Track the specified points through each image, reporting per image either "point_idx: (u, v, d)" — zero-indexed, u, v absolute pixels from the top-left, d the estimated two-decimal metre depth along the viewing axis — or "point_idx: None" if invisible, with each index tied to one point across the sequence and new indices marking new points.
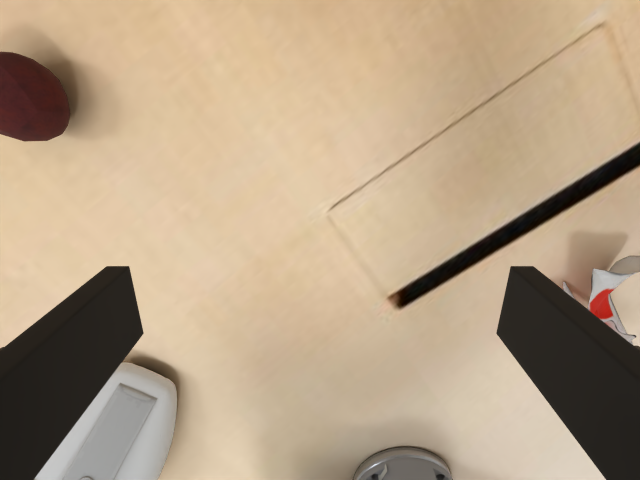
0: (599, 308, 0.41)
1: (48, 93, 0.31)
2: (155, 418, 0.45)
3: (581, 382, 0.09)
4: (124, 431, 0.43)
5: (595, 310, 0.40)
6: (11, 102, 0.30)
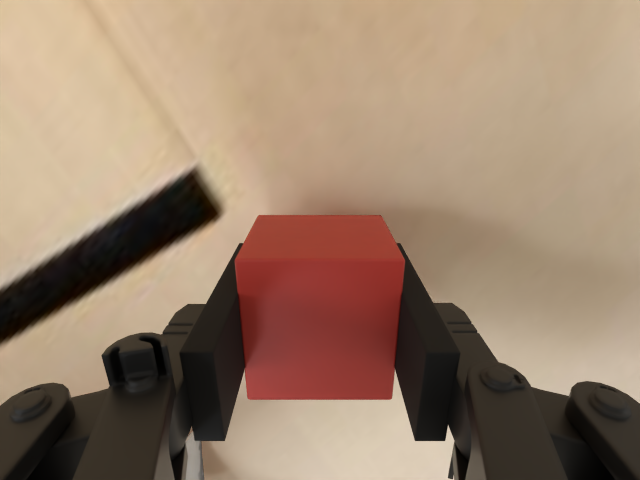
0: None
1: None
2: None
3: (399, 331, 0.11)
4: None
5: None
6: None
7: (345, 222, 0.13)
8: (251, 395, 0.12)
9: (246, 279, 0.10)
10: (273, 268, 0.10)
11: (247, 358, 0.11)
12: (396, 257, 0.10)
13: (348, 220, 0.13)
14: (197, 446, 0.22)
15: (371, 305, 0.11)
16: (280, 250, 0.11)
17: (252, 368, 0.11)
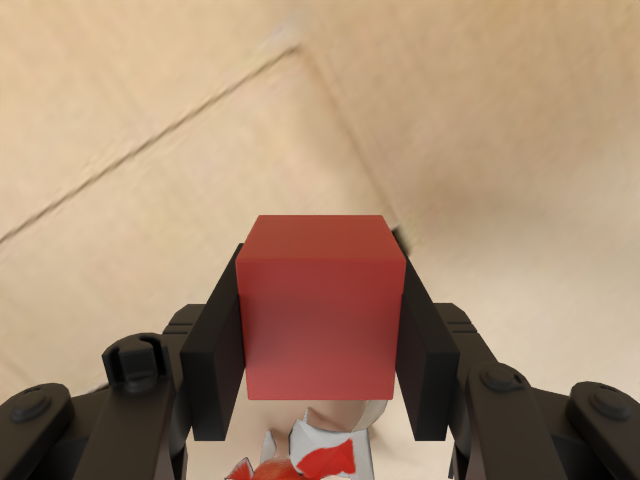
0: (332, 463, 0.28)
1: None
2: None
3: (399, 331, 0.11)
4: None
5: (318, 470, 0.27)
6: None
7: (346, 222, 0.13)
8: (252, 395, 0.12)
9: (247, 279, 0.10)
10: (273, 268, 0.10)
11: (248, 358, 0.11)
12: (397, 257, 0.10)
13: (349, 220, 0.13)
14: None
15: (372, 305, 0.11)
16: (281, 250, 0.11)
17: (253, 368, 0.11)
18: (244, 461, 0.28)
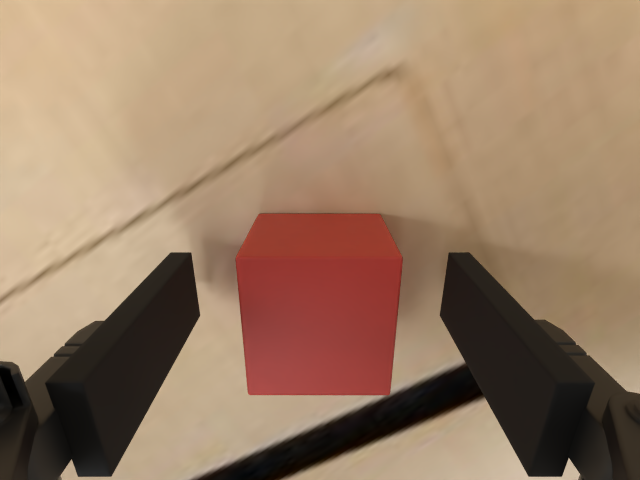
0: None
1: None
2: None
3: (491, 351, 0.10)
4: None
5: None
6: None
7: (344, 221, 0.13)
8: (252, 390, 0.12)
9: (247, 276, 0.10)
10: (273, 265, 0.10)
11: (248, 354, 0.12)
12: (394, 255, 0.10)
13: (347, 218, 0.13)
14: None
15: (369, 302, 0.11)
16: (280, 248, 0.11)
17: (252, 364, 0.12)
18: None
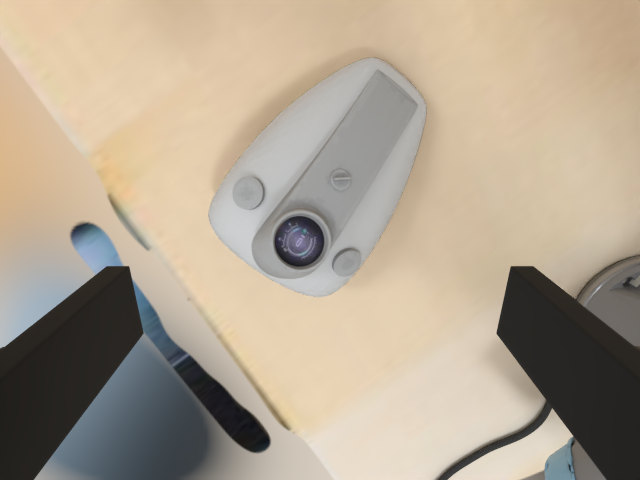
0: None
1: None
2: (413, 131, 0.33)
3: (581, 382, 0.09)
4: (386, 127, 0.31)
5: None
6: None
7: None
8: None
9: None
10: None
11: None
12: None
13: None
14: None
15: None
16: None
17: None
18: None
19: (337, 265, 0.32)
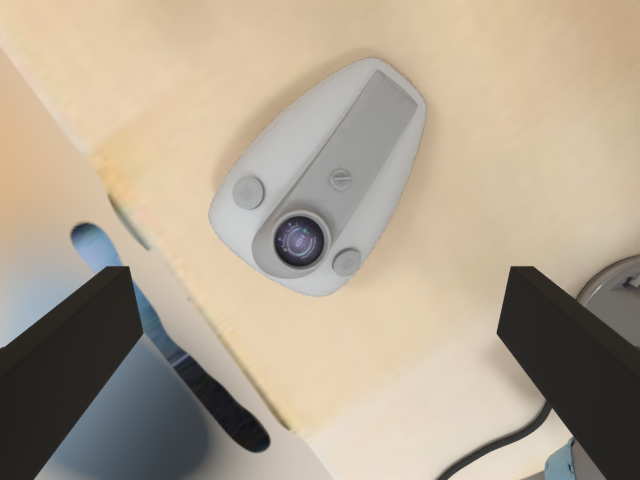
0: None
1: None
2: (413, 131, 0.33)
3: (581, 382, 0.09)
4: (386, 127, 0.31)
5: None
6: None
7: None
8: None
9: None
10: None
11: None
12: None
13: None
14: None
15: None
16: None
17: None
18: None
19: (337, 265, 0.32)
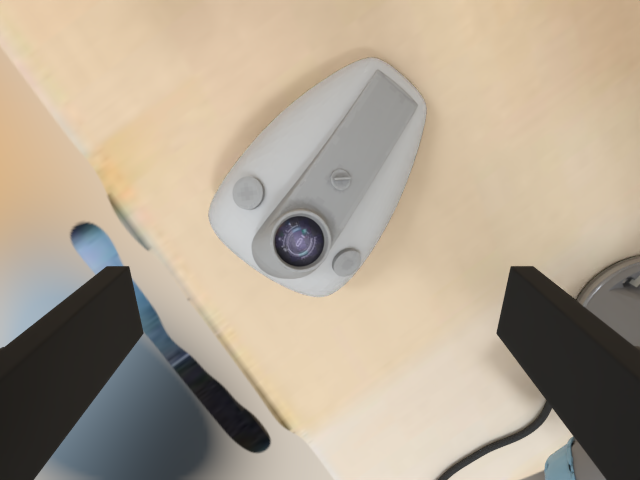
0: None
1: None
2: (413, 131, 0.33)
3: (581, 382, 0.09)
4: (386, 127, 0.31)
5: None
6: None
7: None
8: None
9: None
10: None
11: None
12: None
13: None
14: None
15: None
16: None
17: None
18: None
19: (337, 265, 0.32)
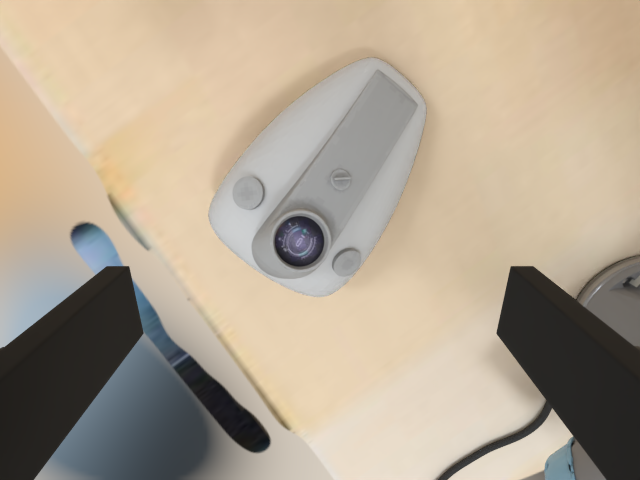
0: None
1: None
2: (413, 131, 0.33)
3: (581, 382, 0.09)
4: (386, 127, 0.31)
5: None
6: None
7: None
8: None
9: None
10: None
11: None
12: None
13: None
14: None
15: None
16: None
17: None
18: None
19: (337, 265, 0.32)
